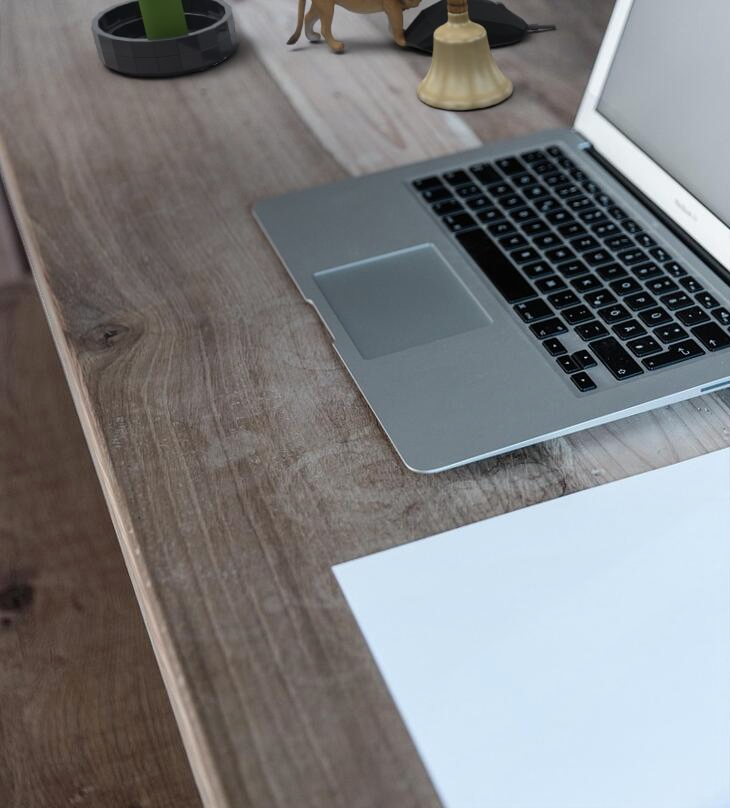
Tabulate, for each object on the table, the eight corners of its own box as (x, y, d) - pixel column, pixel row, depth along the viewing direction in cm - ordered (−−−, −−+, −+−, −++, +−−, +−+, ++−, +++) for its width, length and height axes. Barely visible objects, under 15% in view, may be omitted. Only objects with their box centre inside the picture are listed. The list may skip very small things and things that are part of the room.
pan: (100, 86, 105) (89, 47, 103) (102, 38, 115) (92, 1, 113) (243, 70, 109) (236, 31, 106) (234, 24, 118) (227, -12, 116)
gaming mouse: (565, 39, 115) (564, -3, 112) (412, 60, 110) (407, 17, 108) (545, 17, 119) (543, -23, 117) (397, 37, 115) (392, -5, 113)
